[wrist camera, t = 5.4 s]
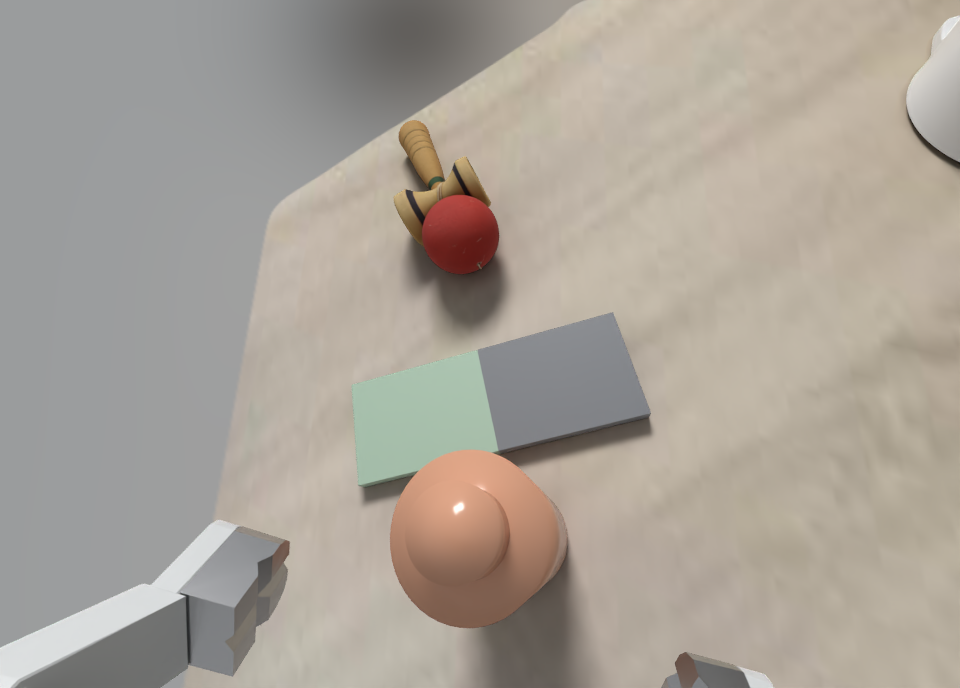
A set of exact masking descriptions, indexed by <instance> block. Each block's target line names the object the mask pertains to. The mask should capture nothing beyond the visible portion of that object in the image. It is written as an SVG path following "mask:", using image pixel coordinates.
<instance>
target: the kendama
mask: <svg viewBox="0 0 960 688" xmlns="http://www.w3.org/2000/svg"><path fill="white" fill-rule="evenodd" d="M399 141H400V144H401V145H402V147H403V148H404V150H405V151H406V153H407V155H408V156H409V158H410V160H411V162H412V164H413V165H414V167H415V169H416V171H417V173H418V174H419V176H420V177H421V179H422V180H423V182H424V183H425V185H426V186H427V187H428V188H429V190H430V191H425V192H414V191H410V190H406V189H405V190H403V191H401V192H400V193H398V194H397V195H395V196H394V203H395V206H396V209H397V211H398V213H399V215H400V217H401V219H402V221H403V223H404V224H405V226H406V227H407V229H408V230H409V232H410V233H411V235H412V236H413V237H414V239H415V240H416V241H417V242H418V243H419V244H420V245H422V246H424V248H425V250H426V252H427V254H428V256H429V257H430V259H431V260H432V261H433V262H434V263H435V264H436V265H437V266H439V267H440V268H441V269H443V270H445V271H448V272H450V273H455V274H467V273H471V272H474V271H477V270H478V269H482V267H483V266H484V265H486V264H487V263H488V262H489V261H490V260H491V258H492V257H493V255H494V254H495V252H496V249H497V246H498V241H499V229H498V224H497V221H496V219H495V216H494V215H493V213H492V211H491V210H490V209H489V208H488V207H489V206H490V205H491V202H490V200H489V198H488V196H487V195H486V193H485V191H484V189H483V187H482V185H481V183H480V181H479V179H478V177H477V176H476V174H475V172H474V170H473V168H472V166H471V165H470V163H469V161H468V159H467V157H465V156H464V157H462V158H460V159H458V160H456V161H455V163H454V166H453V169H452V171H451V173H450V175H449V177H448V178H447V179H446V181H445V179H444V175H443V171H442V168H441V164H440V162H439V159H438V156H437V154H436V151H435V149H434V146H433V143H432V140H431V138H430V134H429V131H428V129H427V127H426V126H425V125H424V124H423V123H421V122H420V121H416V120H412V121H409V122H407V123H405V124H404V125H403V126H402V127H401V129H400V132H399Z"/></svg>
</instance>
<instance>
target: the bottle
mask: <svg viewBox="0 0 960 688" xmlns="http://www.w3.org/2000/svg"><path fill="white" fill-rule="evenodd" d="M567 543H568V537H567V529H566V525H565V522H564V519H563V517H562V515H561V513H560V511H559V509H558V508H557V506H556V505H555V504H554V503H553V502H552V501H551V500H550V499H549V498H548V497H547V496H546V495H545V494H544V493H543V492H542V491H541V490H540V489H539V488H538V487H537V486H536V485H535V483H534V482H533V481H532V480H531V479H530V478H529V477H528V476H527V475H526V474H524V473H523V472H522V471H521V470H520V469H519V468H518V467H517V466H516V465H514V464H513V463H512V462H510V461H509V460H507V459H505V458H503V457H501V456H499V455H496V454H494V453H491V452H487V451H482V450H460V451H454V452H451V453H448V454H444V455H442V456H440V457H438V458H436V459H434V460H433V461H431V462H429V463H428V464H426V465H425V466H424V467H423V468H422V469H420V470H419V471H418V472H417V473H416V474H415V475H414V477H413V478H412V479H411V480H410V482H409V483H408V484H407V486H406V487H405V489H404V490H403V492H402V494H401V496H400V498H399V500H398V503H397V505H396V508H395V511H394V514H393V519H392V524H391V533H390V549H391V556H392V562H393V565H394V569H395V572H396V575H397V577H398V580H399V582H400V584H401V586H402V588H403V589H404V591H405V593H406V594H407V595H408V597H409V598H410V599H411V601H412V602H413V603H414V604H415V605H416V606H417V607H418V608H419V609H420V610H421V611H423V612H424V613H425V614H427V615H428V616H429V617H431V618H433V619H435V620H437V621H438V622H441V623H444V624H446V625H449V626H454V627H459V628H477V627H484V626H487V625H491V624H494V623H496V622H498V621H500V620H503V619H505V618H506V617H508V616H509V615H511V614H512V613H514V612H515V611H516V610H517V609H518V608H519V607H520V606H522V605H523V604H524V603H525V602H526V601H527V600H528V599H529V598H531V597H532V596H533V595H534V594H535V593H536V592H537V591H538V590H540V589H541V588H542V587H543V586H544V585H545V584H546V583H547V582H548V581H550V580H551V579H552V578H553V577H554V576H555V575H556V573H557V572H558V571H559V569H560V567H561V566H562V563H563V561H564V559H565V555H566V551H567Z"/></svg>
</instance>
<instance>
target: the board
mask: <svg viewBox="0 0 960 688" xmlns="http://www.w3.org/2000/svg"><path fill="white" fill-rule="evenodd" d="M352 399H353V414H354V428H355V443H356V458H357V472H358V486H363V487H367V486H371V485H376V484H380V483H384V482H388V481H392V480H396V479H400V478H404V477H408V476H412V475H415V474H416V473H417V472H418V471H419V470H420V469H422V468H423V467H424V466H425V465H426V464H428V463H429V462H431V461H433V460H434V459H436V458H438V457H440V456H442V455H444V454H448V453H451V452H454V451H460V450H482V451H487V452H491V453H494V454H496V455H497V454H501V453H505V452H510V451H514V450H518V449H522V448H526V447H530V446H534V445H538V444H542V443H546V442H550V441H554V440H558V439H562V438H566V437H570V436H574V435H579V434H583V433H587V432H591V431H595V430H599V429H603V428H607V427H611V426H615V425H619V424H623V423H627V422H631V421H635V420H639V419H643V418H648V417H649V416H650V414H651V412H650V409H649V407H648V404H647V401H646V399H645V396H644V393H643V391H642V388H641V386H640V383H639V380H638V378H637V375H636V372H635V370H634V367H633V364H632V362H631V359H630V356H629V354H628V351H627V348H626V346H625V343H624V340H623V338H622V335H621V333H620V330H619V327H618V325H617V322H616V319H615V317H614V314H613V312H612V313H609V314H605V315H601V316H598V317H594V318H591V319H587V320H583V321H580V322H576V323H573V324H569V325H565V326H562V327H558V328H555V329H551V330H547V331H544V332H540V333H537V334H533V335H530V336H526V337H522V338H519V339H515V340H512V341H508V342H504V343H501V344H497V345H494V346H490V347H486V348H483V349H479V350H476V351H472V352H468V353H465V354H461V355H458V356H454V357H450V358H447V359H443V360H440V361H436V362H432V363H429V364H425V365H422V366H418V367H414V368H411V369H407V370H404V371H400V372H396V373H393V374H389V375H386V376H382V377H378V378H375V379H371V380H368V381H364V382H361V383H357V384H353V385H352Z"/></svg>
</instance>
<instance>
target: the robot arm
mask: <svg viewBox="0 0 960 688" xmlns="http://www.w3.org/2000/svg"><path fill="white" fill-rule="evenodd" d="M906 102H907V109H908V113H909V116H910V118H911V120H912V122H913V124H914V126H915V127H916V129H917V130H918V131H919V132H920V134H921V135H922V136H923V137H924V138H925V139H926V140H927V141H928V142H929V143H930V144H932V145H933V146H934V147H935V148H937V149H938V150H939V151H941V152H942V153H944V154H945V155H947V156H949V157H951V158H952V159H954V160H956V161H958V162H960V16H955V17H952V18H950V19H948V20H947V21H946V22H945V23H944V24H943V25H942V26H941V27H940V29H939V30H938V31H937V32H936V34H935V35H934V37H933V41H932V48H931V56H930V58H929V59H928V61H927V62H926V63H925V64H924V65H923V66H922V67H921V68H920V70H919V71H918V72H917V73H916V74H915V76H914V77H913V79H912V81H911V83H910V85H909V88H908V91H907V99H906ZM289 544H290V542H289V541H287V540H284V539H281V538H278V537H274V536H271V535H268V534H265V533H262V532H258V531H255V530H252V529H249V528H246V527H243V526H239V525H235V524H232V523H229V522H225V521H222V520H217V521H215V522H213V523H212V524H210V525H209V526H208V527H207V528H206V529H205V530H204V531H203V532H202V533H201V534H200V535H199V536H198V537H197V538H196V539H195V540H194V541H193V542H192V543H191V544H190V545H189V546H188V547H187V548H186V549H185V550H184V551H183V552H182V553H181V554H180V555H179V557H178V558H177V559H176V560H175V561H174V562H173V563H172V564H171V565H170V566H169V567H168V568H167V569H166V570H165V571H164V572H163V573H162V574H161V575H160V576H159V577H158V578H157V579H156V580H155V581H154V582H153V583H152V584H151V585H147V584H141V585H139V586H136V587H134V588H132V589H129V590H127V591H125V592H123V593H121V594H118V595H116V596H114V597H112V598H109V599H107V600H105V601H103V602H101V603H98V604H96V605H94V606H92V607H89V608H87V609H85V610H83V611H81V612H78V613H76V614H74V615H72V616H69V617H68V618H65V619H63V620H61V621H58V622H56V623H54V624H52V625H50V626H47V627H45V628H43V629H41V630H38V631H36V632H34V633H32V634H29V635H27V636H25V637H23V638H21V639H18V640H16V641H14V642H12V643H9V644H8V645H5V646H3V647H1V648H0V688H160V687H162V686H164V685H165V684H166V683H168V682H169V681H170V680H172V679H173V678H175V677H176V676H178V675H179V674H180V673H182V672H183V671H185V670H186V669H187V668H188V665H191V666H195V667H199V668H202V669H206V670H210V671H214V672H218V673H222V674H225V675H229V676H233V675H234V674H235V672H236V671H237V669H238V668H239V666H240V664H241V663H242V661H243V660H244V658H245V656H246V655H247V653H248V652H249V650H250V648H251V647H252V645H253V644H254V642H255V633H256V627H257V626H259V625H260V624H262V623H264V622H265V621H267V620H269V618H270V616H271V615H272V613H273V611H274V610H275V608H276V606H277V605H278V602H279V600H280V598H281V595H282V593H283V591H284V588H285V584H286V580H287V573H288V569H287V568H286V566H285V564H284V563H283V562H284V561H285V559H286V558H287V556H288V555H289ZM675 666H676V669H677V673H676V674H674V675H671V676H669V677H667V678H666V679H665V681H664V683H663V685H662V687H661V688H774V687H773V685H772V683H771V681H770V680H769V679H768V677H767V676H766V675H765V674H763V673H759V672H756V671H752V670H748V669H745V668H741V667H737V666H735V665H733V664H729V663H725V662H721V661H718V660H714V659H710V658H706V657H703V656H699V655H695V654H691V653H688V652H685V653H683V654H680V655H679V657H678V659H677V660H676V662H675Z"/></svg>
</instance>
